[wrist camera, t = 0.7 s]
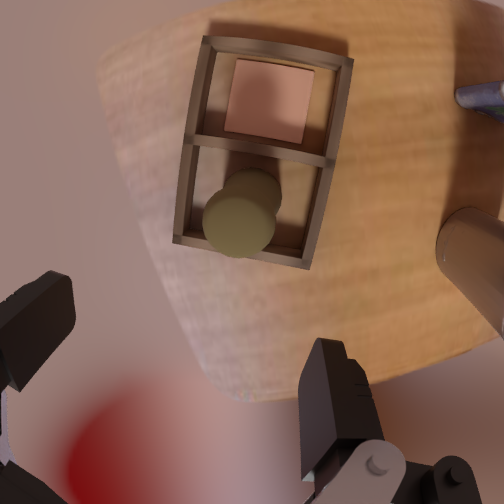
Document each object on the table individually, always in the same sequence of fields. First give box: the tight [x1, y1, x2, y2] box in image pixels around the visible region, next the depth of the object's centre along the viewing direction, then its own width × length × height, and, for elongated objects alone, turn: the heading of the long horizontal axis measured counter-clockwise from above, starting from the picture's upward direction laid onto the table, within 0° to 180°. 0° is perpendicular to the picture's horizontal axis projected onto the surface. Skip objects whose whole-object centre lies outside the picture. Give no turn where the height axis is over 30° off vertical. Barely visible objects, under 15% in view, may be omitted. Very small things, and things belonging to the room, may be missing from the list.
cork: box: [202, 167, 282, 258], centre depth 24 cm, size 6×6×11 cm
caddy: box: [172, 36, 354, 270], centre depth 26 cm, size 14×21×2 cm, turn 171°
